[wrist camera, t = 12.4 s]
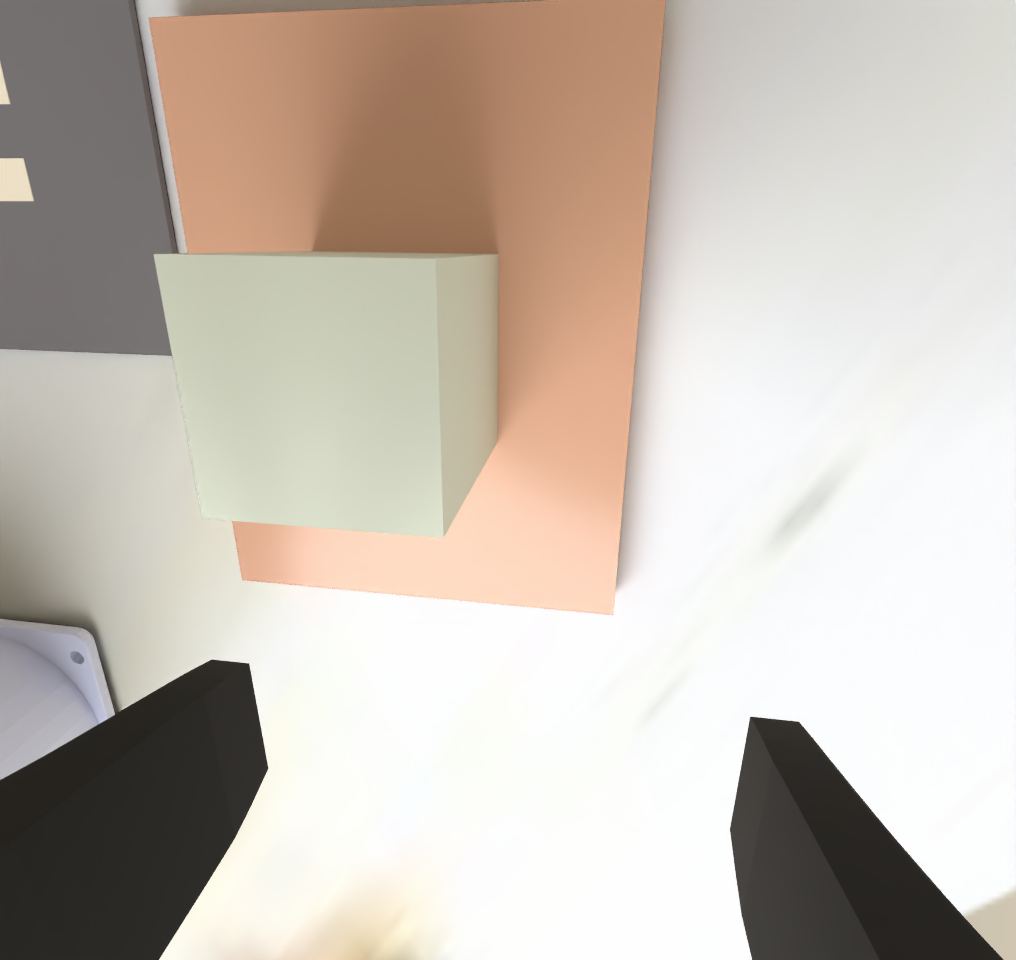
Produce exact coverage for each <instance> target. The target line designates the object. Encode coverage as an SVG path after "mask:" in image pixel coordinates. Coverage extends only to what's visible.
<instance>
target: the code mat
mask: <svg viewBox="0 0 1016 960" xmlns="http://www.w3.org/2000/svg"><path fill="white" fill-rule="evenodd" d="M154 254H177V249H176V243H175V237H174V231H173V225H172V220H171V214H170V208H169V202H168V196H167V190H166V185H165V179H164V173H163V167H162V161H161V156H160V150H159V144H158V138H157V132H156V127H155V121H154V115H153V109H152V103H151V97H150V92H149V86H148V80H147V74H146V68H145V63H144V57H143V51H142V45H141V39H140V34H139V28H138V22H137V16H136V10H135V4H134V0H0V349H19V350H43V351H68V352H93V353H118V354H143V355H167V356H172V352H171V347H170V341H169V336H168V331H167V325H166V320H165V314H164V309H163V303H162V298H161V292H160V287H159V282H158V276H157V271H156V265H155V260H154Z"/></svg>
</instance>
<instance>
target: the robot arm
mask: <svg viewBox="0 0 1016 960" xmlns="http://www.w3.org/2000/svg"><path fill="white" fill-rule="evenodd" d="M267 770H268V765H267V759H266V754H265V748H264V743H263V737H262V732H261V726H260V721H259V716H258V710H257V705H256V699H255V694H254V688H253V683H252V677H251V672H250V666H249V664H248V663H238V662H229V661H219V660H210V661H208V662H206V663H205V664H203V665H201V666H199V667H197V668H195V669H193V670H191V671H189V672H187V673H186V674H184V675H182V676H180V677H179V678H177V679H175V680H173V681H172V682H170V683H168V684H166V685H165V686H163V687H161V688H159V689H158V690H156V691H154V692H153V693H151V694H149V695H147V696H146V697H144V698H142V699H141V700H139V701H137V702H136V703H134V704H132V705H130V706H129V707H127V708H125V709H124V710H122V711H120V712H119V713H117V714H115V712H114V709H113V705H112V701H111V698H110V694H109V691H108V687H107V683H106V680H105V676H104V673H103V669H102V665H101V662H100V658H99V655H98V651H97V647H96V644H95V640H94V638H93V636H92V635H91V634H90V633H89V632H88V631H87V630H85V629H82V628H79V627H70V626H61V625H52V624H43V623H34V622H25V621H15V620H6V619H0V960H159V959H160V957H161V955H162V954H163V952H164V951H165V949H166V947H167V946H168V944H169V943H170V941H171V940H172V938H173V936H174V935H175V933H176V932H177V930H178V929H179V927H180V925H181V924H182V922H183V921H184V919H185V917H186V916H187V914H188V913H189V911H190V910H191V908H192V906H193V905H194V903H195V902H196V900H197V899H198V897H199V895H200V894H201V892H202V891H203V889H204V887H205V886H206V884H207V882H208V881H209V879H210V878H211V876H212V874H213V873H214V871H215V870H216V868H217V866H218V865H219V863H220V862H221V860H222V858H223V857H224V855H225V853H226V852H227V850H228V849H229V847H230V845H231V844H232V842H233V840H234V839H235V837H236V835H237V833H238V831H239V829H240V827H241V825H242V823H243V821H244V819H245V817H246V815H247V813H248V811H249V809H250V807H251V805H252V803H253V800H254V798H255V796H256V794H257V792H258V789H259V787H260V785H261V783H262V781H263V779H264V776H265V774H266V772H267ZM730 832H731V840H732V847H733V855H734V863H735V871H736V878H737V885H738V892H739V899H740V906H741V913H742V918H743V922H744V926H745V931H746V935H747V939H748V943H749V948H750V952H751V956H752V960H1003V959H1002V958H1001V957H1000V956H999V955H998V953H997V952H996V951H995V950H994V949H993V948H992V947H991V946H990V945H989V944H988V943H987V942H986V941H985V940H984V938H983V937H981V935H980V934H979V933H978V932H977V931H976V930H975V929H974V928H973V927H972V925H971V924H970V923H969V922H968V921H967V920H966V919H965V918H964V917H963V915H962V914H961V913H960V912H959V911H958V910H957V909H956V908H955V907H954V906H953V904H952V903H951V902H950V901H949V900H948V899H947V898H946V897H945V895H944V894H943V893H942V892H941V891H940V890H939V889H938V887H937V886H936V885H935V884H934V883H933V882H932V881H931V879H930V878H929V877H928V876H927V875H926V874H925V873H924V871H923V870H922V869H921V868H920V867H919V866H918V864H917V863H916V862H915V861H914V860H913V859H912V858H911V856H910V855H909V854H908V853H907V852H906V851H905V850H904V848H903V847H902V846H901V845H900V844H899V843H898V842H897V840H896V839H895V838H894V837H893V836H892V834H891V833H890V832H889V831H888V830H887V828H886V827H885V826H884V825H883V824H882V823H881V821H880V820H879V819H878V818H877V817H876V815H875V814H874V813H873V812H872V811H871V809H870V808H869V807H868V806H867V804H866V803H865V802H864V801H863V800H862V798H861V797H860V796H859V795H858V794H857V792H856V791H855V790H854V789H853V787H852V786H851V785H850V784H849V783H848V781H847V780H846V779H845V778H844V776H843V775H842V774H841V773H840V771H839V770H838V769H837V768H836V767H835V765H834V764H833V763H832V762H831V760H830V759H829V758H828V757H827V755H826V754H825V753H824V752H823V750H822V749H821V748H820V747H819V745H818V744H817V743H816V742H815V741H814V739H813V738H812V737H811V736H810V734H809V733H808V732H807V731H806V730H805V728H804V727H803V726H802V725H801V724H800V723H799V722H795V721H786V720H776V719H767V718H757V717H750V722H749V727H748V733H747V738H746V744H745V749H744V755H743V761H742V766H741V772H740V777H739V783H738V788H737V794H736V800H735V805H734V811H733V816H732V822H731V827H730Z"/></svg>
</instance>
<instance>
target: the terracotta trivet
mask: <svg viewBox="0 0 1016 960" xmlns="http://www.w3.org/2000/svg"><path fill="white" fill-rule="evenodd" d="M665 4H666V0H542V1H519V2H496V3H473V4H451V5H428V6H405V7H382V8H359V9H336V10H313V11H290V12H267V13H244V14H221V15H198V16H175V17H152V18H149V23H150V29H151V35H152V41H153V47H154V53H155V59H156V65H157V71H158V77H159V83H160V89H161V95H162V101H163V107H164V113H165V119H166V125H167V131H168V137H169V143H170V149H171V155H172V161H173V167H174V173H175V179H176V185H177V191H178V197H179V203H180V209H181V215H182V221H183V227H184V233H185V239H186V245H187V251H188V253H237V252H291V251H337V252H401V253H464V254H499V278H498V428H497V444H496V446H495V448H494V449H493V451H492V453H491V455H490V457H489V458H488V460H487V462H486V464H485V465H484V467H483V469H482V471H481V472H480V474H479V476H478V478H477V480H476V481H475V483H474V485H473V487H472V488H471V490H470V492H469V494H468V495H467V497H466V499H465V501H464V503H463V504H462V506H461V508H460V510H459V511H458V513H457V515H456V517H455V519H454V520H453V522H452V524H451V526H450V527H449V529H448V531H447V533H446V534H445V536H444V538H437V537H425V536H413V535H400V534H388V533H376V532H364V531H351V530H339V529H327V528H315V527H302V526H290V525H278V524H265V523H253V522H241V521H232V522H233V528H234V534H235V540H236V546H237V552H238V558H239V564H240V570H241V576H242V580H247V581H257V582H268V583H279V584H289V585H300V586H311V587H321V588H332V589H342V590H353V591H364V592H374V593H385V594H396V595H406V596H417V597H427V598H438V599H449V600H459V601H470V602H481V603H491V604H502V605H512V606H523V607H534V608H544V609H555V610H565V611H576V612H587V613H597V614H608V615H613V613H614V601H615V589H616V577H617V566H618V554H619V542H620V531H621V519H622V507H623V496H624V484H625V472H626V460H627V449H628V437H629V425H630V414H631V402H632V390H633V378H634V367H635V355H636V343H637V332H638V320H639V308H640V296H641V285H642V273H643V261H644V250H645V238H646V226H647V214H648V203H649V191H650V179H651V168H652V156H653V144H654V132H655V121H656V109H657V97H658V86H659V74H660V62H661V50H662V39H663V27H664V15H665Z"/></svg>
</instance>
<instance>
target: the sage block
mask: <svg viewBox="0 0 1016 960" xmlns="http://www.w3.org/2000/svg"><path fill="white" fill-rule="evenodd" d="M154 260H155V265H156V271H157V276H158V282H159V287H160V292H161V298H162V303H163V309H164V314H165V320H166V325H167V331H168V336H169V341H170V347H171V352H172V358H173V363H174V369H175V374H176V379H177V385H178V390H179V396H180V401H181V407H182V412H183V418H184V423H185V428H186V434H187V439H188V445H189V450H190V456H191V461H192V466H193V472H194V477H195V483H196V488H197V494H198V499H199V505H200V510H201V515H202V518H204V519H216V520H229V521H241V522H253V523H265V524H278V525H290V526H302V527H315V528H327V529H339V530H351V531H364V532H376V533H388V534H400V535H413V536H425V537H437V538H444V536H445V534H446V533H447V531H448V529H449V527H450V526H451V524H452V522H453V520H454V519H455V517H456V515H457V513H458V511H459V510H460V508H461V506H462V504H463V503H464V501H465V499H466V497H467V495H468V494H469V492H470V490H471V488H472V487H473V485H474V483H475V481H476V480H477V478H478V476H479V474H480V472H481V471H482V469H483V467H484V465H485V464H486V462H487V460H488V458H489V457H490V455H491V453H492V451H493V449H494V448H495V446H496V444H497V428H498V278H499V254H464V253H401V252H337V251H291V252H237V253H184V254H154Z"/></svg>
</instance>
